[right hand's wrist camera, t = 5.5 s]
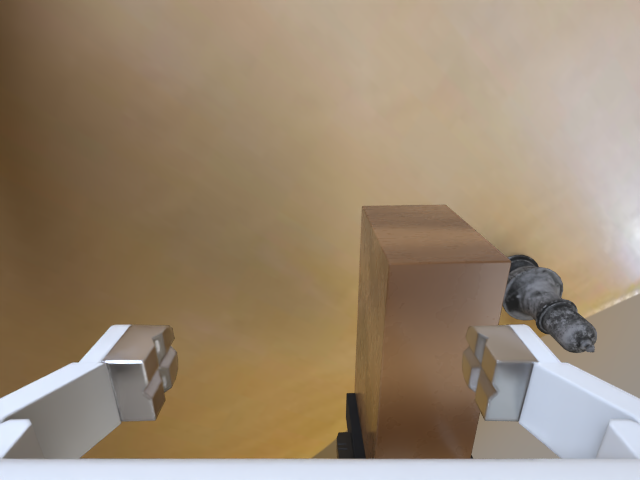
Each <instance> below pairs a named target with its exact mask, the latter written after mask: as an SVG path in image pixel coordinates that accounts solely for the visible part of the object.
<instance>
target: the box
mask: <svg viewBox="0 0 640 480" xmlns="http://www.w3.org/2000/svg"><path fill="white" fill-rule="evenodd" d="M510 267H511V260H509V259H508V258H507V257H506V256H505V255H504V254H502V253H501V252H500V251H499V250H498V249H497V248H495V247H494V246H493V245H492V244H491V243H490V242H488V241H487V240H486V239H485V238H484V237H483V236H481V235H480V234H479V233H478V232H477V231H476V230H474V229H473V228H472V227H471V226H470V225H469V224H467V223H466V222H465V221H464V220H463V219H462V218H460V217H459V216H458V215H457V214H456V213H455V212H453V211H452V210H451V209H450V208H449V207H448V206H446V205H401V206H362V219H361V244H360V270H359V295H358V320H357V345H356V370H355V395H356V401H357V407H358V413H359V419H360V425H361V431H362V438H363V444H364V450H365V456H366V459H470V458H471V453H472V448H473V444H474V439H475V434H476V429H477V424H478V419H479V415H480V410H479V408H478V406H477V404H476V402H475V395H476V392H474V391H473V390H471V389H470V388H468V386H467V384H466V382H465V379H464V376H463V372H462V356H463V352H464V351H465V350H466V349H467V348H468V347H469V344H468V342H467V341H466V339H465V338H466V332H467V329H468V327H469V326H493V325H498V324H499V319H500V315H501V310H502V305H503V300H504V295H505V291H506V286H507V281H508V276H509V271H510Z"/></svg>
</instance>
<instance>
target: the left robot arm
mask: <svg viewBox="0 0 640 480" xmlns="http://www.w3.org/2000/svg"><path fill="white" fill-rule="evenodd" d="M346 421H347V429H348V432H341V433H338V436H337V459H366V456H365V450H364V444H363V438H362V431H361V425H360V419H359V413H358V407H357V401H356V395H355V393H347V400H346ZM470 459H473V457H472V455H471V458H470Z"/></svg>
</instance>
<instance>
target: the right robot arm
mask: <svg viewBox="0 0 640 480" xmlns="http://www.w3.org/2000/svg"><path fill="white" fill-rule="evenodd" d="M174 339H175V338H174V333H173V328H172V327H170V326H169V325H113V326H111V327H110V328H109V329H108V330H107V331H106V332H105V333H104V335H103V336H102V337H101V338H100V339H99V340H98V341H97V342H96V344H95V345H94V346H93V347H92V348H91V349H90V350H89V351H88V353H87V354H86V355H85V356H84V357H83V358H82V359H81V360H80V361H79V363H71V364H69V365H67V366H65V367H63V368H61V369H59V370H57V371H55V372H53V373H51V374H49V375H47V376H45V377H43V378H41V379H39V380H37V381H35V382H33V383H31V384H29V385H26V386H24V387H22V388H20V389H18V390H16V391H14V392H12V393H10V394H8V395H6V396H4V397H2V398H0V480H640V399H639V398H637V397H635V396H633V395H631V394H629V393H627V392H625V391H623V390H621V389H619V388H617V387H615V386H613V385H611V384H609V383H607V382H605V381H603V380H601V379H599V378H597V377H595V376H593V375H591V374H589V373H587V372H585V371H583V370H581V369H579V368H577V367H575V366H573V365H571V364H569V363H561V362H560V360H559V359H558V358H557V357H556V356H555V355H554V354H553V353H552V351H551V350H550V349H549V348H548V347H547V346H546V345H545V344H544V342H543V341H542V340H541V339H540V338H539V337H538V336H537V335H536V333H535V332H534V331H533V330H532V329H531V328H530V327H529V326H527V325H525V324H519V325H493V326H469V327H468V329H467V332H466V338H465V339H466V341H467V342H468V344H469V347H468V348H467V349H466V350H465V351H464V352H463V356H462V372H463V376H464V379H465V382H466V384H467V386H468V388H470V389H471V390H473V391H474V392H476V395H475V402H476V404H477V406H478V408H479V410H480V412H481V414H482V416H483V418H484V420H485V421H519V424H520V425H522V426H523V427H524V428H525V429H526V430H528V431H529V432H530V433H531V434H532V435H534V436H535V437H536V438H537V439H538V440H540V441H541V442H542V443H543V444H544V445H546V446H547V447H548V448H549V449H550V450H551V451H553V452H554V453H555V454H556V455H557V456H559V457H560V458H561V459H79V458H80V457H81V456H83V455H84V454H85V453H86V452H87V451H89V450H90V449H91V448H92V447H93V446H95V445H96V444H97V443H98V442H99V441H101V440H102V439H103V438H104V437H105V436H107V435H108V434H109V433H110V432H111V431H113V430H114V429H115V428H116V427H117V426H119V425H120V424H121V421H154V420H156V418H157V416H158V414H159V412H160V410H161V408H162V406H163V404H164V402H165V395H164V393H165V392H166V391H167V390H169V389H170V388H172V386H173V384H174V382H175V380H176V376H177V371H178V356H177V352H176V351H175V350H174V349H173V348H172V347H171V344H172V342H173V341H174Z"/></svg>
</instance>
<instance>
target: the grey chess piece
mask: <svg viewBox="0 0 640 480" xmlns="http://www.w3.org/2000/svg"><path fill="white" fill-rule="evenodd" d="M508 259H509V260H511V267H510V271H509V276H508V281H507V286H506V291H505V295H504V300H503V307H504V309H505V311H506V312H507V313H508V314H509V315H510V316H512V317H514V318H516V319H519V320H533V319H534V320H535V321H536V325H537V328H538V329H539V330H540V331H541V332H543V333H545V334H550V335H551V336H552V337H553V338H554V339H555V340H556V341H557V342H558V343H559V344H560V345H561V346H562V347H563V348H564V349H565V350H567V351H569V352H573V353H581V352H584V351H587V352H594V348H595V347H594V344H595V342H596V340H597V332H596V329H595V328H594V327H593V326H592V324H590V323H589V322H588V321H587V320H586V319H584V318H583V317H582V316H581V315H580V314H578V313H577V308H576V306H575V304H574V303H573V302H571V301H569V300H565V299H562V298H561V296H562V292H563V283H562V281H561V278H560V277H559V276H558V275H557V273H555V272H554V271H552V270H550V269H547V268H542V267H538V264H537V263H536V262H535V261H534V260H533V259H532V258H530V257H528V256H524V255H514V256H511V257H508Z"/></svg>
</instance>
